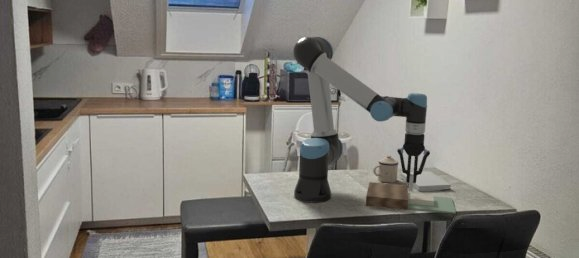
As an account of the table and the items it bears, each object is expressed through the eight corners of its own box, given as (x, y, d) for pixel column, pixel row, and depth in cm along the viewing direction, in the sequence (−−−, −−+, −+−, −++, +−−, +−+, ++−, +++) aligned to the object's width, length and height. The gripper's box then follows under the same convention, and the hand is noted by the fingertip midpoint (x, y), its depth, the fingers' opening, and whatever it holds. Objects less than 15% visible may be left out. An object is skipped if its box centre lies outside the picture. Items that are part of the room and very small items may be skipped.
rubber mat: (407, 209, 204) (407, 207, 204) (406, 195, 221) (407, 193, 221) (455, 213, 200) (455, 212, 200) (451, 199, 218) (451, 197, 218)
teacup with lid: (390, 176, 249) (392, 152, 247) (401, 182, 240) (402, 157, 238) (368, 178, 245) (369, 154, 243) (377, 184, 236) (379, 158, 234)
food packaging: (450, 191, 231) (429, 178, 250) (450, 184, 230) (429, 171, 249) (418, 193, 228) (399, 179, 247) (418, 186, 227) (400, 172, 246)
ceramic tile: (407, 203, 209) (408, 198, 208) (407, 197, 216) (407, 192, 216) (433, 206, 207) (434, 201, 206) (432, 199, 215) (432, 195, 214)
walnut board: (365, 205, 206) (366, 196, 206) (368, 191, 226) (369, 182, 225) (407, 209, 203) (408, 200, 202) (406, 194, 222) (407, 185, 222)
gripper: (397, 133, 205) (393, 191, 209) (432, 135, 202) (427, 194, 207) (398, 130, 212) (394, 186, 216) (431, 132, 210) (426, 189, 214)
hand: (410, 190), depth 212 cm, fingers closed
